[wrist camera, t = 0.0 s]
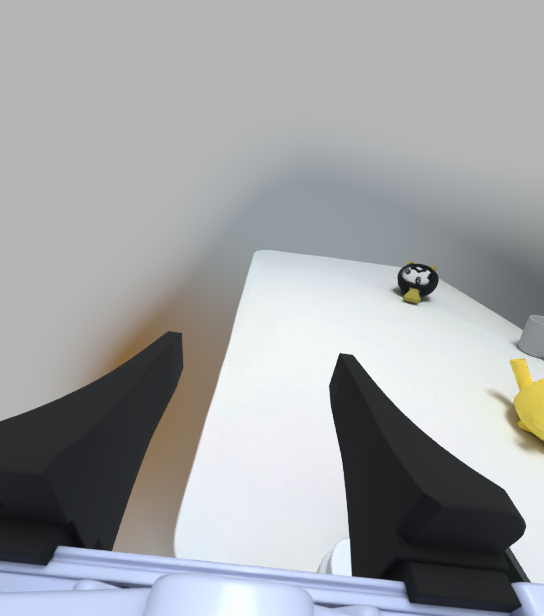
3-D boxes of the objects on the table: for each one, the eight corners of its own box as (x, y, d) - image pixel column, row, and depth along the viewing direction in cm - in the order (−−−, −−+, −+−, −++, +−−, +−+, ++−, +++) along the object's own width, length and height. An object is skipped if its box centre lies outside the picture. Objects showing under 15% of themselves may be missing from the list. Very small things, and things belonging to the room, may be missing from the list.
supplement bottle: (310, 677, 20) (337, 628, 16) (296, 587, 24) (315, 533, 20) (373, 666, 20) (412, 617, 17) (349, 581, 25) (376, 528, 21)
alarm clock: (385, 303, 98) (386, 260, 98) (418, 304, 103) (419, 263, 102) (411, 302, 87) (412, 254, 87) (446, 304, 91) (448, 258, 91)
